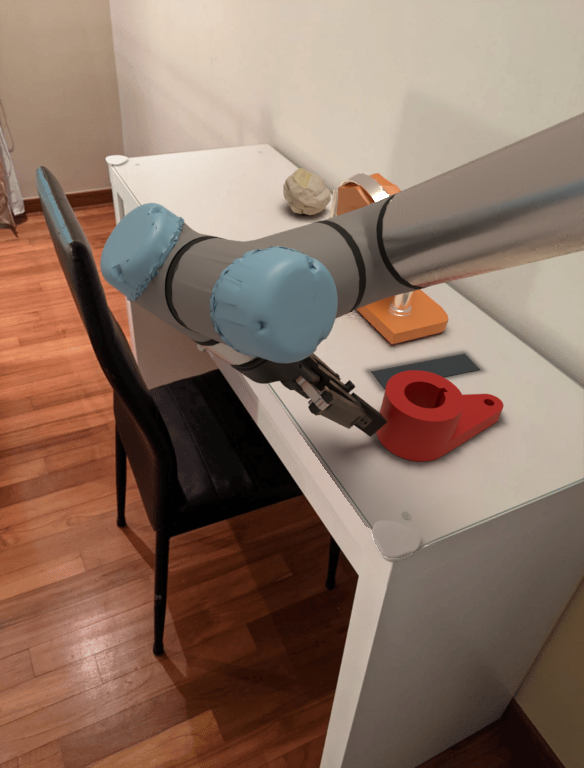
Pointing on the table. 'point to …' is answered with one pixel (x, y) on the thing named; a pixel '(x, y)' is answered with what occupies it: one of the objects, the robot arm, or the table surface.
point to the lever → (431, 415)
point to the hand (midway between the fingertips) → (375, 425)
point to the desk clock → (399, 312)
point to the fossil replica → (306, 192)
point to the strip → (430, 368)
